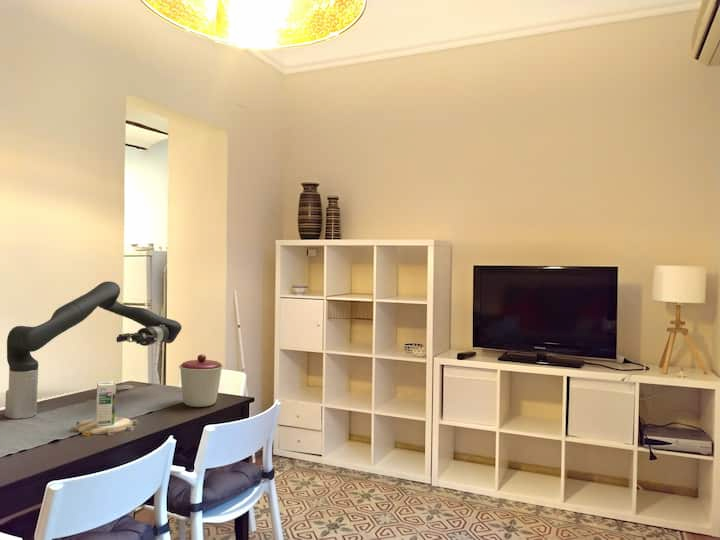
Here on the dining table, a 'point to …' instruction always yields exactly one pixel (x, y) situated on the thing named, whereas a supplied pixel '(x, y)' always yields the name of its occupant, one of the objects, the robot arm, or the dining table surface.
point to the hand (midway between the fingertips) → (127, 340)
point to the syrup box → (105, 403)
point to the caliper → (124, 387)
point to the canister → (200, 381)
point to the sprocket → (104, 426)
